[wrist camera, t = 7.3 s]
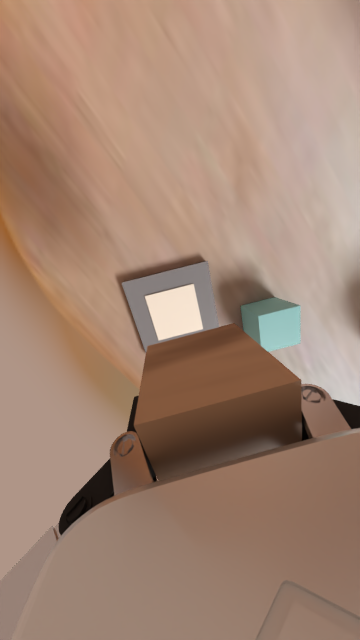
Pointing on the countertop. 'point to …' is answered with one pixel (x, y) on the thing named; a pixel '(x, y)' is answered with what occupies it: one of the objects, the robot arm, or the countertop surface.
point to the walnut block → (214, 401)
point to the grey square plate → (172, 303)
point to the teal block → (272, 323)
